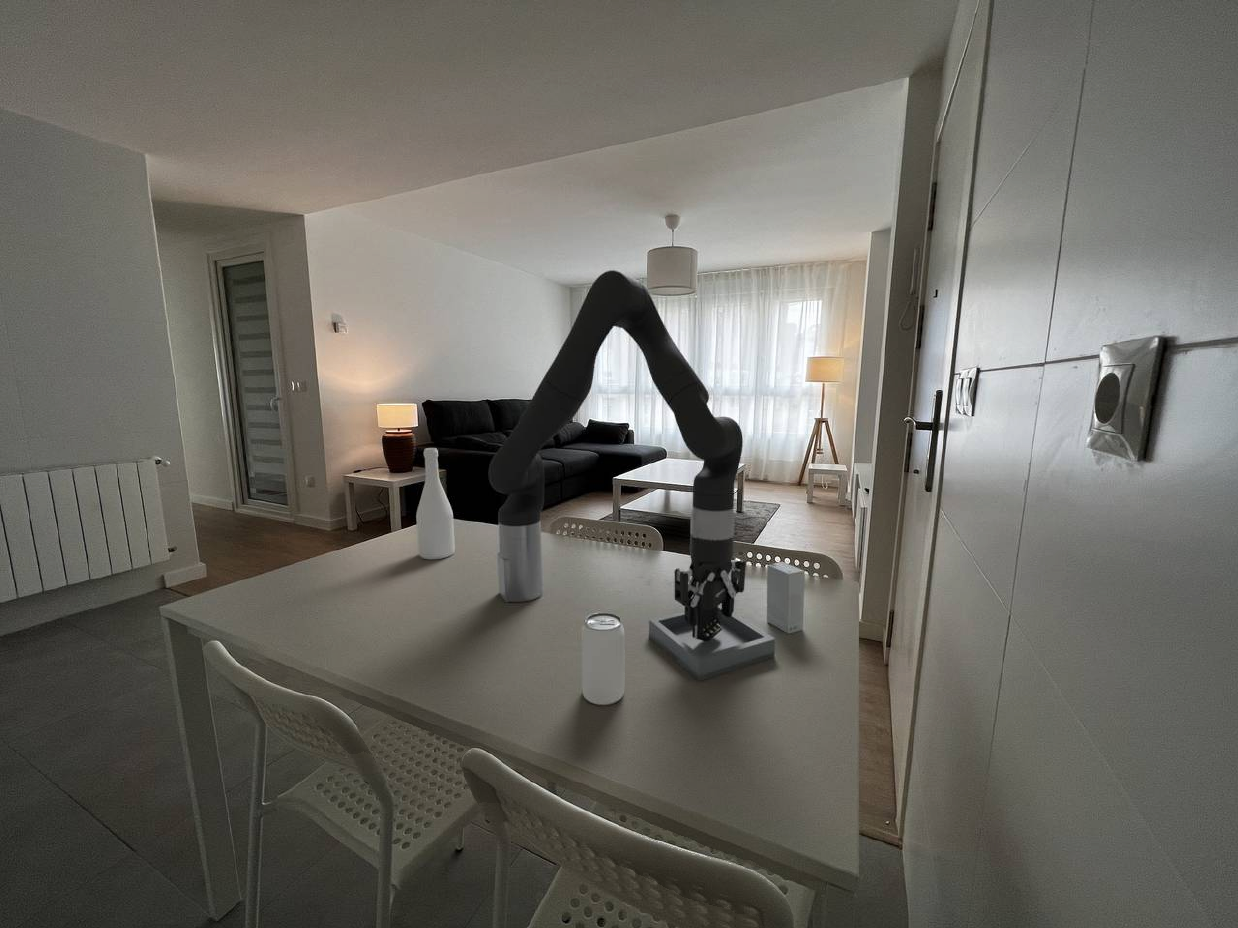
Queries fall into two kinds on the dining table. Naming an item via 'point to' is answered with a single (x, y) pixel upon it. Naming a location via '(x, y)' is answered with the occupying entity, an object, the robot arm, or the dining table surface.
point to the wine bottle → (434, 514)
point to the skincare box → (785, 597)
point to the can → (603, 659)
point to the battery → (709, 609)
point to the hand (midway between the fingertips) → (709, 619)
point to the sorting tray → (712, 644)
